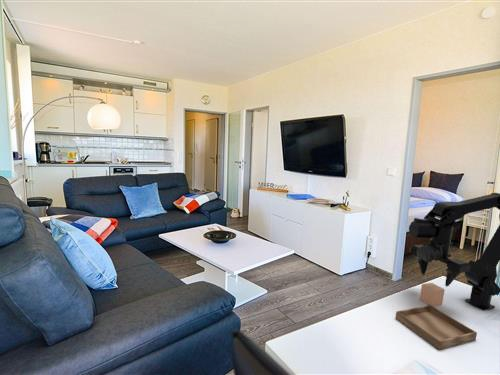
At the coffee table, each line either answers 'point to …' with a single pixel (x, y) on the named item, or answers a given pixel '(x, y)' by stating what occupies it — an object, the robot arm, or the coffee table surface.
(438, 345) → the walnut tray
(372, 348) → the coffee table surface
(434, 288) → the terracotta block
